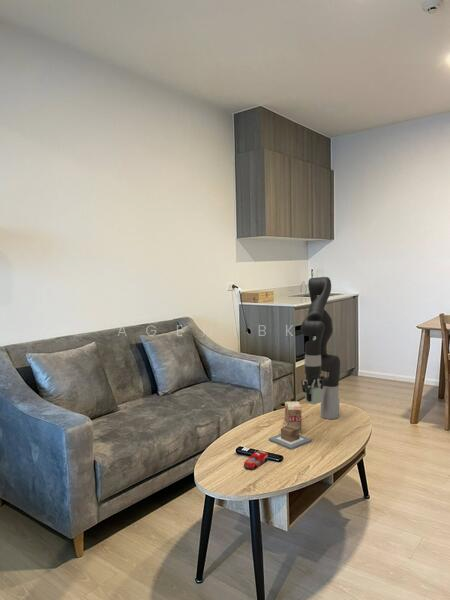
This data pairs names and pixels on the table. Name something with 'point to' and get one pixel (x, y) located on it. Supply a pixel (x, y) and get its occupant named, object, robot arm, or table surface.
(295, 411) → the stack of blocks
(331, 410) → the robot arm
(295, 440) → the board
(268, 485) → the table surface
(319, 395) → the sage block
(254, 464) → the race car
